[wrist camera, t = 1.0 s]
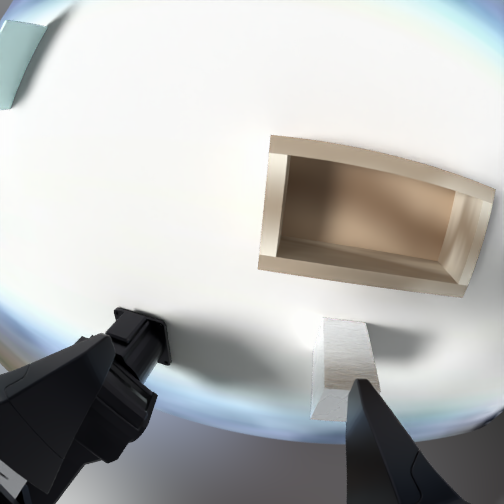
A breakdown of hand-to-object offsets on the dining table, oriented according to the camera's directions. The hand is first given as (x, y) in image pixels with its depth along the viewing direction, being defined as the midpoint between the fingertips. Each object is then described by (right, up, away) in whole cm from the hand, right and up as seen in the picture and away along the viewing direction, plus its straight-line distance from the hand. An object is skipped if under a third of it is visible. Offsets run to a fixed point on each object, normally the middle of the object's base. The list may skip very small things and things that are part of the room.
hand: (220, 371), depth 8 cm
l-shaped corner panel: (-31, +31, +9) cm, 45 cm away
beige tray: (+10, +7, +10) cm, 16 cm away
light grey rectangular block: (+9, -4, +15) cm, 18 cm away
